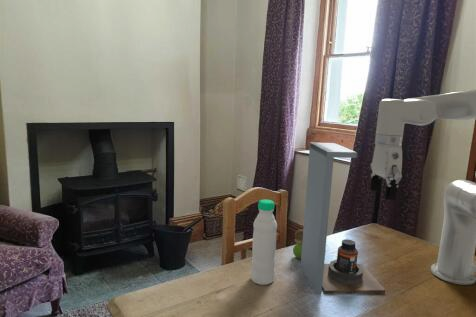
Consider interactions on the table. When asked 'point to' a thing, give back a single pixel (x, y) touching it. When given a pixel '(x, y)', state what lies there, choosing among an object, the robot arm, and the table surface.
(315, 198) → the grey l-shaped stand
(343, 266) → the supplement bottle
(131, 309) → the table surface
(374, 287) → the socket
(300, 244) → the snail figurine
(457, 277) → the robot arm
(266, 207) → the water bottle
